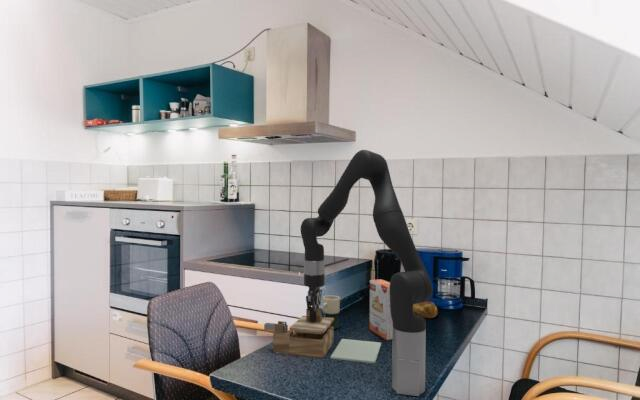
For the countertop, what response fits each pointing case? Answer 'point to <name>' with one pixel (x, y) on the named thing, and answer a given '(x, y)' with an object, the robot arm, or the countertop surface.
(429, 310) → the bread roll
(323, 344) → the wooden box
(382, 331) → the cracker box
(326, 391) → the countertop surface
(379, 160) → the robot arm
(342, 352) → the mat
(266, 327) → the sliding bolt
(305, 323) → the lid
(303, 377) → the countertop surface
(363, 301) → the countertop surface
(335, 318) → the character mug
